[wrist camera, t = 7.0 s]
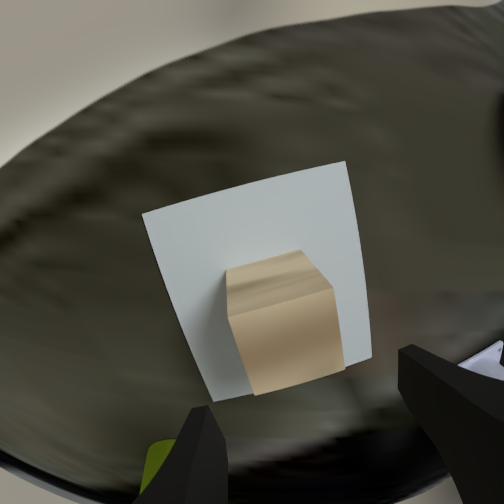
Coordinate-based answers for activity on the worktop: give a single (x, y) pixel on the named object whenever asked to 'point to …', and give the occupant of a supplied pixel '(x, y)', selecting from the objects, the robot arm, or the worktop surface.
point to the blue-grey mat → (255, 249)
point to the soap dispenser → (155, 460)
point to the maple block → (284, 321)
